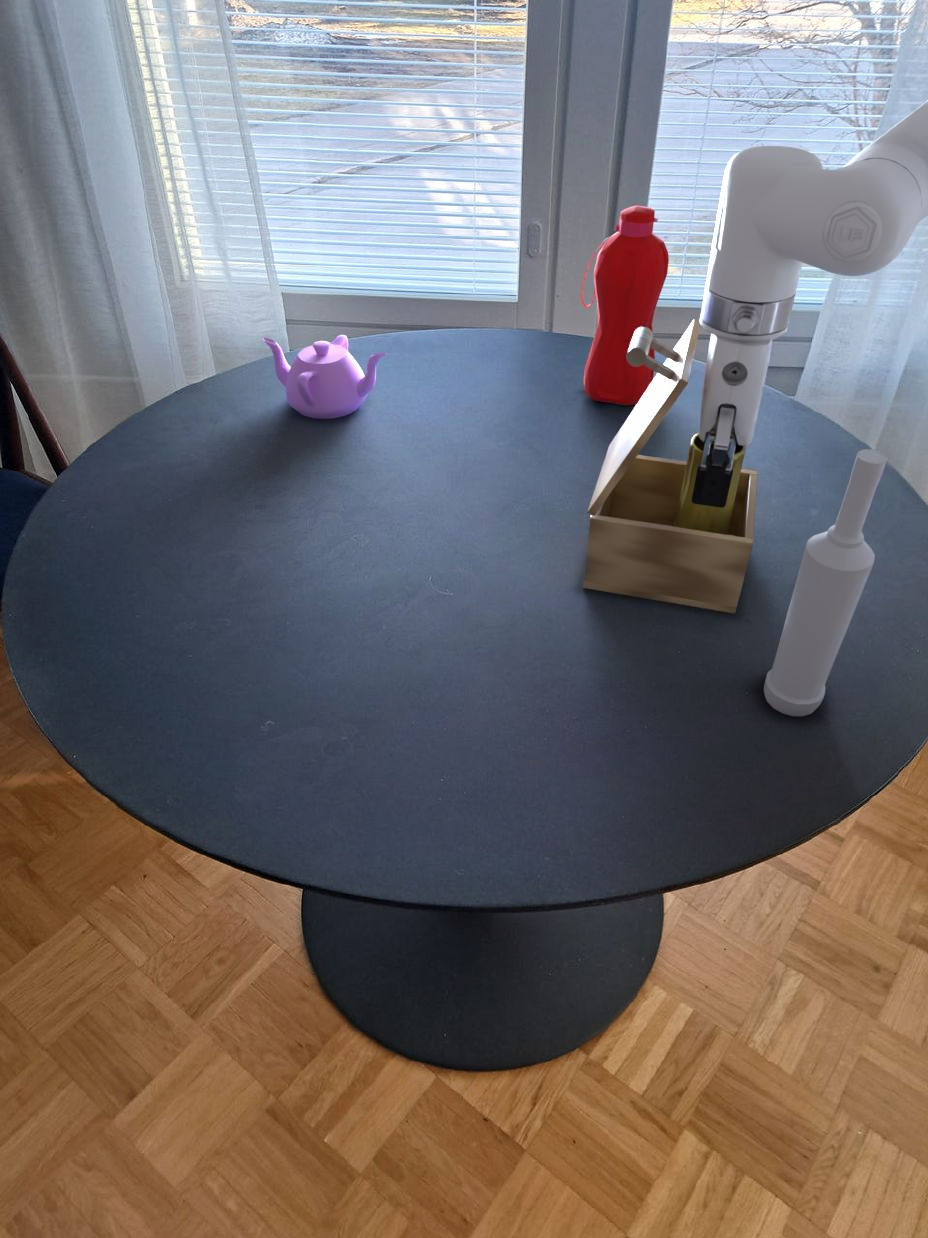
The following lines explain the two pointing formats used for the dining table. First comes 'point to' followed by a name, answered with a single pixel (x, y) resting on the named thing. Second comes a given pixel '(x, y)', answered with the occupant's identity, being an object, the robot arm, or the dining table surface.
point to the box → (668, 541)
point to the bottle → (825, 597)
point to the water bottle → (624, 306)
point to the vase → (701, 514)
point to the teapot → (324, 378)
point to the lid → (646, 404)
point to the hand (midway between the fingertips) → (711, 478)
